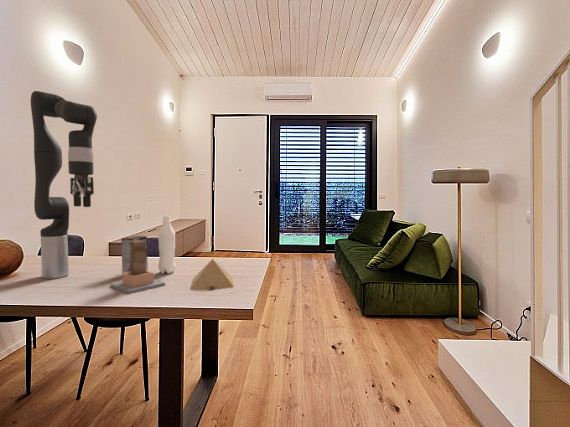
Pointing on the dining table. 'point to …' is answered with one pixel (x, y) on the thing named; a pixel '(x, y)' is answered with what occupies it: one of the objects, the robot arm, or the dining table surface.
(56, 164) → the robot arm
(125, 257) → the coffee box
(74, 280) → the dining table surface
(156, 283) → the end cap socket
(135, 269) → the walnut slat
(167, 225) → the water bottle
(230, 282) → the model pyramid
